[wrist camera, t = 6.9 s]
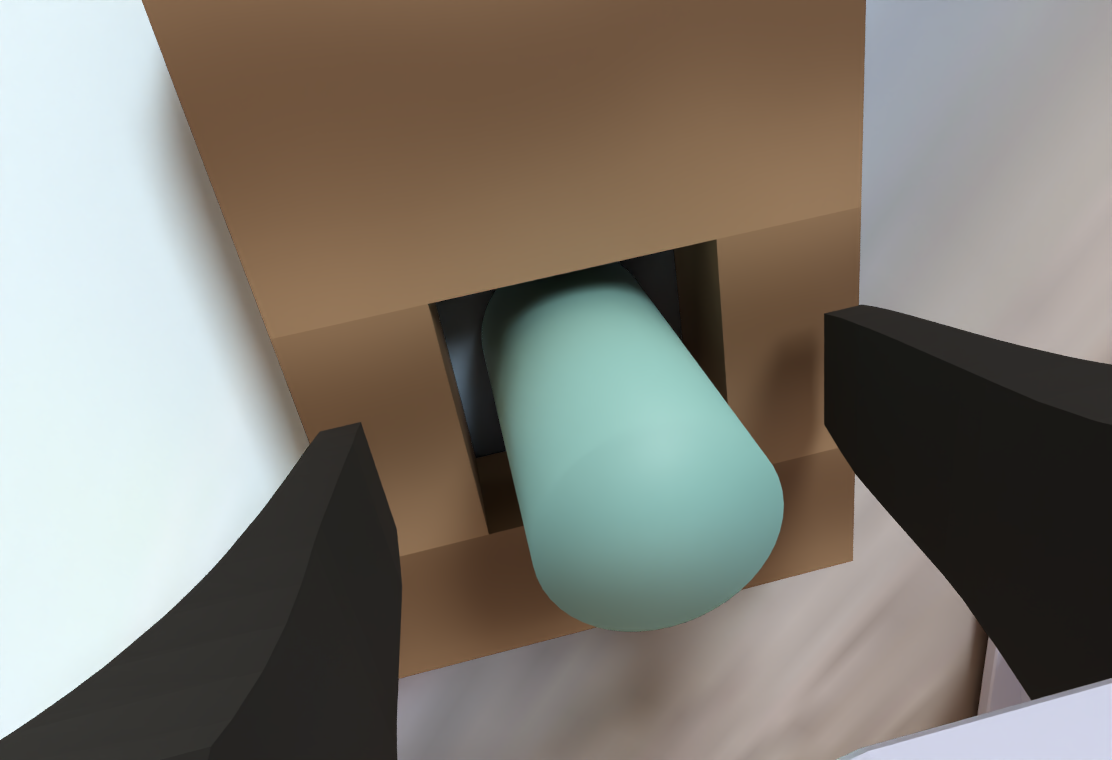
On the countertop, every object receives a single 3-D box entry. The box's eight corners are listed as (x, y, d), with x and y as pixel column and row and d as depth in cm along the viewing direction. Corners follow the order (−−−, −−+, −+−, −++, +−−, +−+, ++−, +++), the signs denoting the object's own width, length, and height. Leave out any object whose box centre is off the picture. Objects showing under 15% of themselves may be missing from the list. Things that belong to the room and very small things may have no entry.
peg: (657, 386, 16) (786, 597, 11) (499, 422, 16) (552, 656, 11) (640, 233, 15) (780, 394, 9) (464, 271, 14) (509, 458, 9)
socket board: (798, 489, 18) (852, 561, 16) (397, 590, 17) (398, 678, 15) (787, -149, 12) (869, -169, 10) (176, -35, 11) (129, -30, 9)
